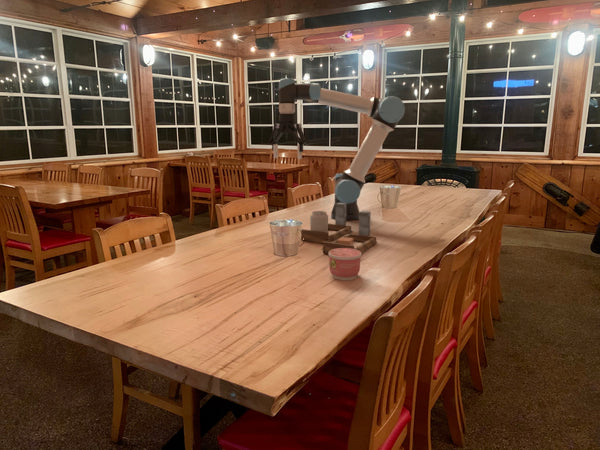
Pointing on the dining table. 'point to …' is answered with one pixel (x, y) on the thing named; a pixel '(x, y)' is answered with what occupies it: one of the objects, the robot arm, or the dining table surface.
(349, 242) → the cube
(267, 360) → the dining table surface
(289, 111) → the robot arm
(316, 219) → the can
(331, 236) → the frame
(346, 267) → the container
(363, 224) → the lane
